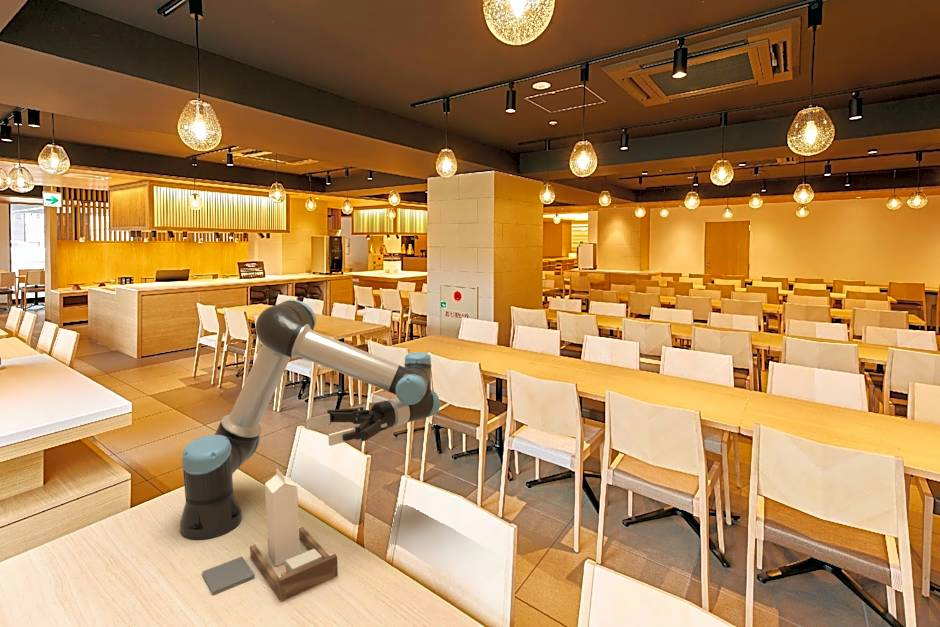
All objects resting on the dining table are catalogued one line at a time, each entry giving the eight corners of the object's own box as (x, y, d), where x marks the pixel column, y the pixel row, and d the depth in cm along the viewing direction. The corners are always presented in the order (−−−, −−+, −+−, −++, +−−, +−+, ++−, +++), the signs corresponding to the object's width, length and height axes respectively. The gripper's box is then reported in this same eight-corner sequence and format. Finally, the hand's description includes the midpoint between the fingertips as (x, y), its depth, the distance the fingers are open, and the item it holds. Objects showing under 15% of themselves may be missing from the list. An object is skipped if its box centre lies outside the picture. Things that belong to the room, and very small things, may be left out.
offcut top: (285, 572, 117) (285, 560, 117) (314, 559, 122) (314, 548, 122) (293, 581, 114) (292, 569, 114) (322, 568, 119) (322, 556, 119)
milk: (275, 566, 124) (271, 481, 120) (268, 554, 128) (263, 471, 125) (300, 557, 127) (296, 474, 124) (292, 545, 132) (288, 464, 128)
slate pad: (202, 574, 120) (202, 571, 120) (242, 559, 126) (242, 556, 126) (212, 595, 113) (212, 592, 113) (254, 578, 119) (254, 574, 119)
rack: (250, 557, 127) (249, 538, 126) (303, 537, 135) (302, 519, 135) (280, 601, 112) (280, 580, 111) (337, 575, 120) (337, 556, 120)
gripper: (415, 439, 134) (340, 462, 121) (367, 414, 153) (298, 431, 139) (414, 412, 133) (339, 432, 119) (367, 390, 152) (297, 405, 138)
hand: (317, 432), depth 129 cm, fingers open, 13 cm apart
